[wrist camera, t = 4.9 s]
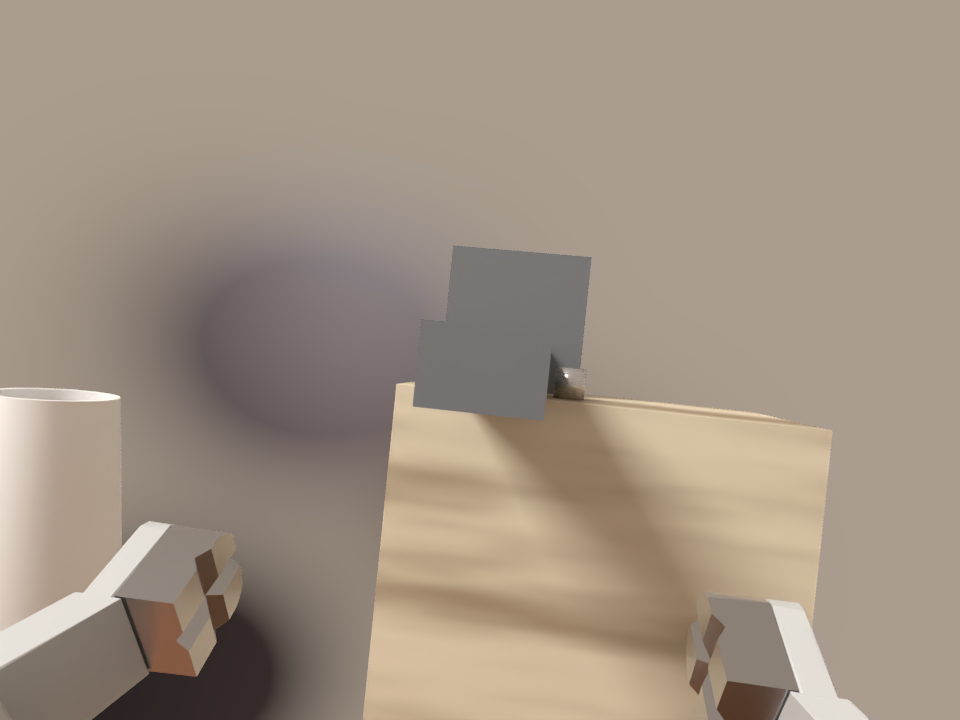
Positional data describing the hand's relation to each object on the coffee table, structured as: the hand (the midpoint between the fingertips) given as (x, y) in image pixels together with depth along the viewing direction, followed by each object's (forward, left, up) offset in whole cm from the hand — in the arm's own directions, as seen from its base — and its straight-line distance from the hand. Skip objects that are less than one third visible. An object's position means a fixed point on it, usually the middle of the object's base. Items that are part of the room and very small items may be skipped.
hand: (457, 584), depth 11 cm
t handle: (+10, -5, +3) cm, 12 cm away
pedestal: (+11, -11, -23) cm, 28 cm away
